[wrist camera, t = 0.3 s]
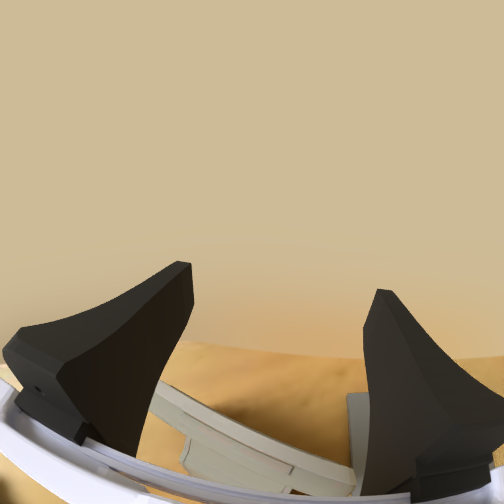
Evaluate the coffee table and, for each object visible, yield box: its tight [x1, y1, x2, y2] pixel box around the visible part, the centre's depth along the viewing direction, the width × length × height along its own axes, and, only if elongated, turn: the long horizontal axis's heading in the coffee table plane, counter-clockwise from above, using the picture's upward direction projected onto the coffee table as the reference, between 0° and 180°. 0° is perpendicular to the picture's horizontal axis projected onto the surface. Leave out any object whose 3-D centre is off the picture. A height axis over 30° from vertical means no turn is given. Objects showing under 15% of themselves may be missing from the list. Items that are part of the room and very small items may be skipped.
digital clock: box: [148, 380, 357, 497], centre depth 19 cm, size 16×9×11 cm, turn 49°
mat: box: [347, 392, 495, 497], centre depth 18 cm, size 20×16×1 cm
